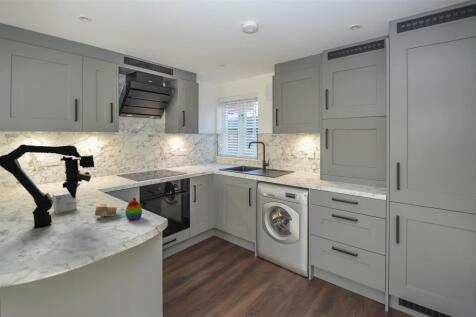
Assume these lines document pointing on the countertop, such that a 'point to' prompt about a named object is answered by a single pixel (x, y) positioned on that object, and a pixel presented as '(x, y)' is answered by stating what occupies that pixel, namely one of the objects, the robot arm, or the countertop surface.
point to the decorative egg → (133, 210)
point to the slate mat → (118, 215)
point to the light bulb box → (63, 202)
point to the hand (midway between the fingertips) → (74, 198)
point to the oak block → (106, 210)
